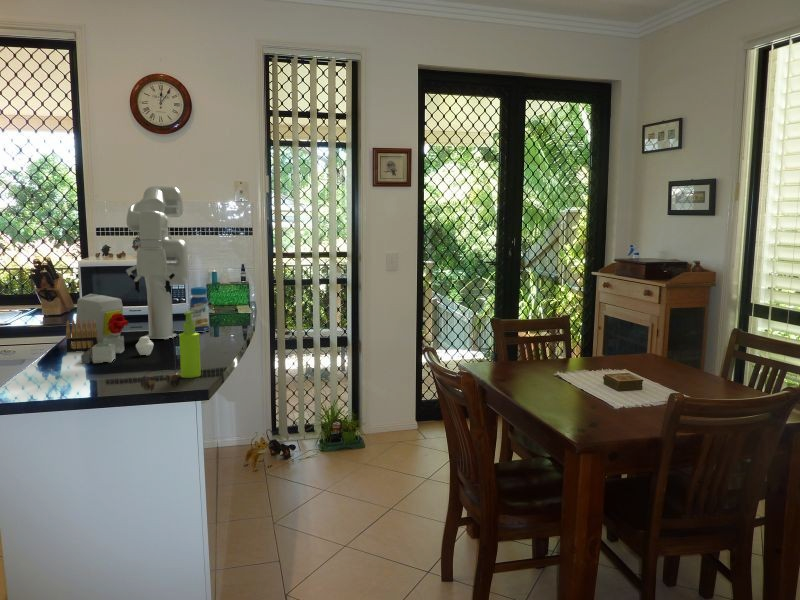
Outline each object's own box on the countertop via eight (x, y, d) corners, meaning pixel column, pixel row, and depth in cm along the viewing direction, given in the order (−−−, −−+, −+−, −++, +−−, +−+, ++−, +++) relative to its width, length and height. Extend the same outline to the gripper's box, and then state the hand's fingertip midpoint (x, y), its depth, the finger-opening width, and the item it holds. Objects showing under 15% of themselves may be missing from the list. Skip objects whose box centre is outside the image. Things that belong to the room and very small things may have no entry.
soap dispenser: (204, 372, 196) (201, 310, 194) (197, 377, 190) (195, 312, 188) (185, 372, 196) (182, 310, 194) (178, 377, 189) (175, 313, 187)
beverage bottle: (213, 330, 283) (211, 286, 281) (205, 333, 274) (203, 288, 272) (195, 330, 284) (193, 286, 282) (187, 333, 275) (185, 288, 273)
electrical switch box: (107, 351, 244) (111, 301, 241) (74, 344, 246) (77, 295, 244) (130, 345, 258) (134, 298, 255) (98, 338, 261) (102, 292, 258)
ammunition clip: (66, 352, 231) (64, 320, 230) (67, 351, 233) (65, 319, 232) (97, 350, 234) (96, 319, 233) (98, 349, 236) (97, 318, 235)
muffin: (148, 352, 230) (148, 334, 230) (157, 354, 226) (156, 335, 226) (132, 355, 226) (131, 336, 225) (141, 357, 222) (140, 337, 221)
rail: (97, 351, 233) (96, 335, 232) (124, 350, 235) (123, 334, 235) (81, 364, 210) (80, 346, 209) (111, 362, 212) (110, 345, 212)
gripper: (124, 245, 218) (126, 293, 219) (176, 244, 224) (178, 292, 225) (125, 245, 225) (127, 292, 226) (176, 245, 231) (178, 291, 232)
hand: (153, 292), depth 226 cm, fingers open, 9 cm apart
